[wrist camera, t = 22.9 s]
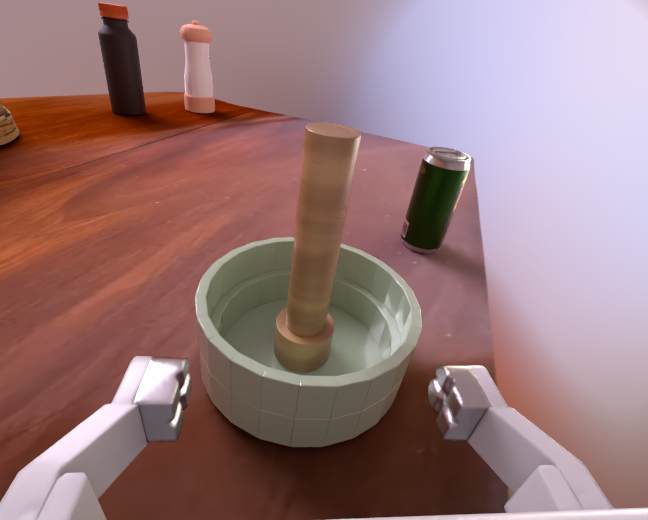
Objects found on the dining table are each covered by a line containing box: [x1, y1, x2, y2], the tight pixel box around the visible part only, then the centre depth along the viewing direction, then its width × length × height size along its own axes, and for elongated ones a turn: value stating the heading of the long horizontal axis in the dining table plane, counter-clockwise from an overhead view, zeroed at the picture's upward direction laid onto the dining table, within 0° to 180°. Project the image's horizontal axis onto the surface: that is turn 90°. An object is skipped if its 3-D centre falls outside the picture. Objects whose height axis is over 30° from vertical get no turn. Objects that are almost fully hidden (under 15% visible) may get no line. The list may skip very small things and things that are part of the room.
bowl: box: [195, 237, 422, 447], centre depth 27 cm, size 15×15×6 cm
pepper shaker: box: [180, 20, 215, 113], centre depth 86 cm, size 7×7×19 cm
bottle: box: [98, 2, 146, 115], centre depth 75 cm, size 7×7×20 cm
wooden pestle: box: [274, 122, 361, 372], centre depth 24 cm, size 4×4×17 cm
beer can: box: [401, 147, 471, 254], centre depth 44 cm, size 5×5×12 cm
